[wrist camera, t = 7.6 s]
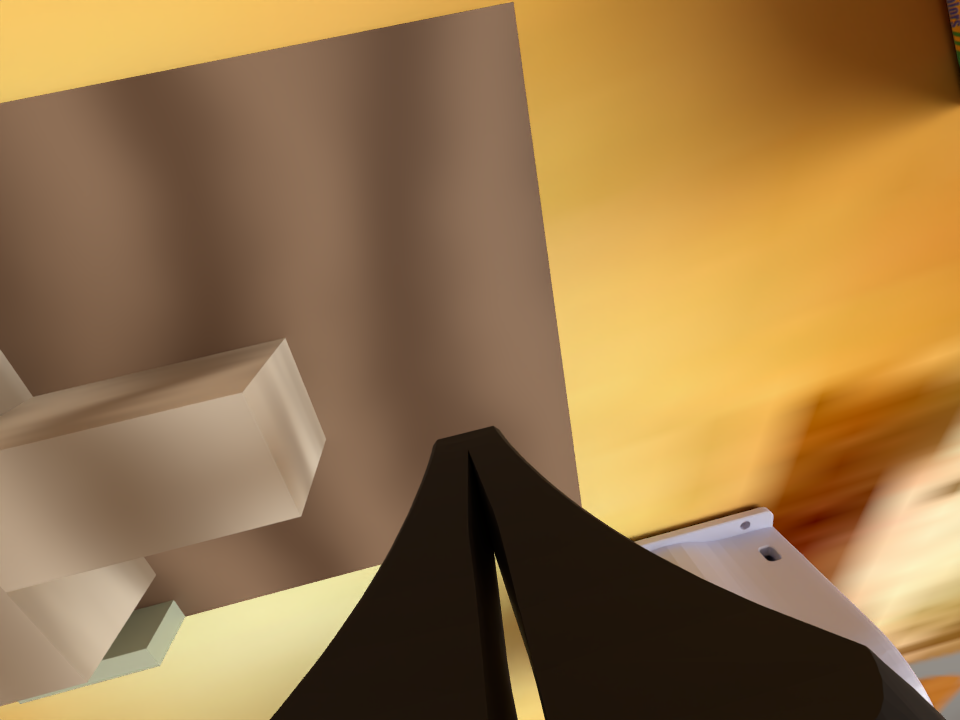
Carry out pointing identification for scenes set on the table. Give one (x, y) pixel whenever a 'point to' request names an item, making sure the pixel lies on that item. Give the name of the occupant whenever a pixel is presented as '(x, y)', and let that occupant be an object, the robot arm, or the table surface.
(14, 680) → the t block
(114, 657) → the off-white long channel
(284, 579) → the board
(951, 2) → the chalk box
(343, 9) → the table surface
